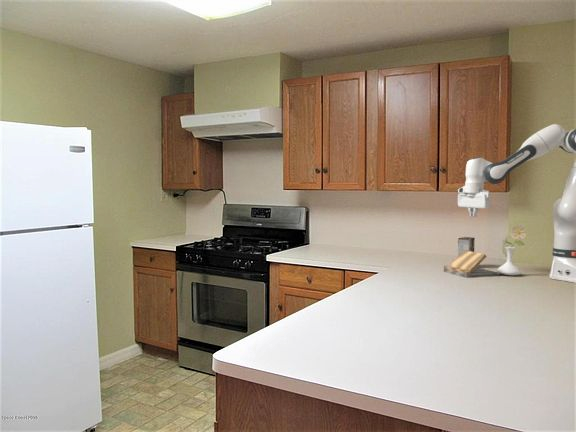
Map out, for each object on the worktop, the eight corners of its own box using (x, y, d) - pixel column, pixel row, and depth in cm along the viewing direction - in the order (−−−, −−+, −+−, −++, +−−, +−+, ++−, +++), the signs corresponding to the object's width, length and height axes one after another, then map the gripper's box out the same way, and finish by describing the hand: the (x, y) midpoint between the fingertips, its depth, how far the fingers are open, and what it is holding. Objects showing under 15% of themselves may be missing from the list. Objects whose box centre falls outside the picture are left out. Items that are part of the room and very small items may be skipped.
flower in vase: (495, 275, 235) (497, 225, 233) (497, 271, 245) (499, 223, 243) (525, 278, 228) (527, 226, 227) (525, 274, 239) (527, 225, 237)
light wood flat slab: (486, 256, 233) (485, 254, 233) (470, 272, 231) (469, 270, 230) (465, 252, 247) (464, 250, 247) (450, 267, 245) (449, 265, 244)
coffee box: (462, 265, 266) (463, 236, 265) (474, 266, 262) (475, 237, 261) (457, 267, 259) (458, 238, 258) (469, 268, 255) (470, 238, 254)
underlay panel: (497, 275, 235) (497, 269, 235) (466, 277, 229) (466, 271, 228) (473, 269, 251) (473, 264, 251) (443, 271, 245) (443, 265, 244)
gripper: (494, 189, 232) (493, 217, 233) (465, 189, 251) (464, 215, 252) (483, 189, 230) (482, 218, 231) (455, 189, 249) (454, 215, 250)
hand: (473, 216), depth 241 cm, fingers closed
